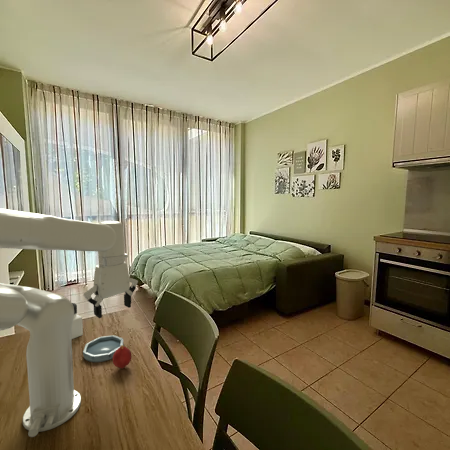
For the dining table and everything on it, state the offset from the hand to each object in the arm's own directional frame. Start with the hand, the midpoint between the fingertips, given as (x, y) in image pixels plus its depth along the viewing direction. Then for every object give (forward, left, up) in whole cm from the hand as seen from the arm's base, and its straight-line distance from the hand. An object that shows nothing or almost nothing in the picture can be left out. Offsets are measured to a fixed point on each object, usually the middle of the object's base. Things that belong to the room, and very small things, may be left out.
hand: (113, 311), depth 83 cm
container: (+25, +20, -19) cm, 38 cm away
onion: (-2, -2, -19) cm, 20 cm away
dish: (+10, +5, -19) cm, 22 cm away
